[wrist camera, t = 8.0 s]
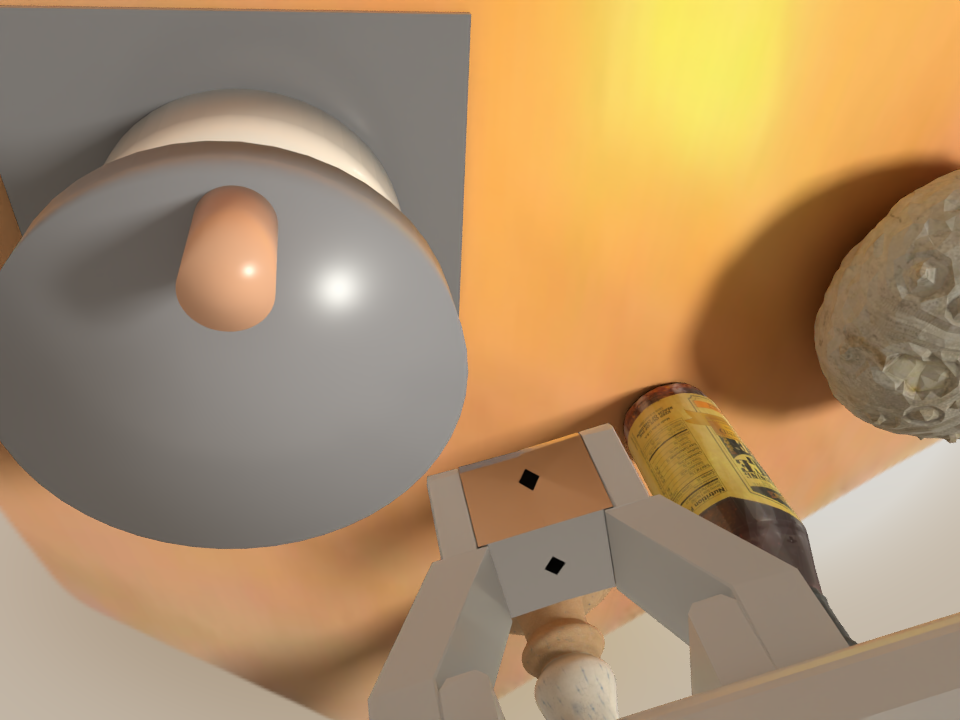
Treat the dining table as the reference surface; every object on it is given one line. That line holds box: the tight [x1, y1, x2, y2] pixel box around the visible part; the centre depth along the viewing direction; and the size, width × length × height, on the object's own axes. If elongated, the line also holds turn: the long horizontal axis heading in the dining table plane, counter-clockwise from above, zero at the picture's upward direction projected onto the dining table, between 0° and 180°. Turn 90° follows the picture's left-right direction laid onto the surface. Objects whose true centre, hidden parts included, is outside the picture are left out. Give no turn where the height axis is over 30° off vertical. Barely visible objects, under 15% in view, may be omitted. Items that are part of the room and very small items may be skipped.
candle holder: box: [509, 588, 619, 720], centre depth 47 cm, size 12×12×20 cm
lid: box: [0, 141, 468, 549], centre depth 25 cm, size 16×16×7 cm
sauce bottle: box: [624, 383, 857, 646], centre depth 40 cm, size 6×6×20 cm
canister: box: [0, 5, 471, 317], centre depth 31 cm, size 20×20×9 cm
